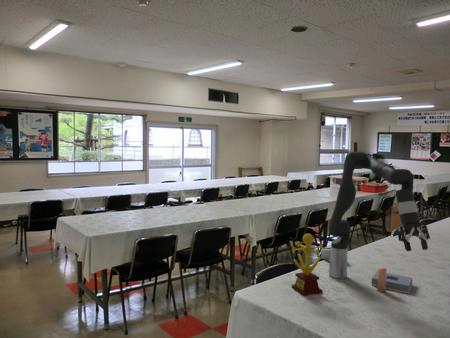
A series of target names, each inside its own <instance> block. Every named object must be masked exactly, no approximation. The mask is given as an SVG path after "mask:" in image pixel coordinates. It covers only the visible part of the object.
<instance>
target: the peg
mask: <svg viewBox="0 0 450 338" xmlns="http://www.w3.org/2000/svg"><path fill="white" fill-rule="evenodd" d="M387 270H388V269H387V268H386V267H381V266H380V267H378V268H377V271H378V287H377V286H376V287H377V292H378V293H386V291H387V289H386V273H387Z"/></svg>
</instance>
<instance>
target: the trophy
mask: <svg viewBox="0 0 450 338" xmlns="http://www.w3.org/2000/svg"><path fill="white" fill-rule="evenodd" d="M314 239H315V238H314V236H313V235H312V234H311V233H305V234H304V235H303V236H302V242H303V244H304V245H303V244H301V242H300V241H297V243H296V244H297V245H296V246H297V248H296V247H295V246H292V247H291V250H292V253H294V254H295V253H296V251H302V252H303V253H304V255H305V263H304V260H303V258H302V255H301V253H299V254H297V257H298V258H299V261H300V263H298V261H297V259H293V262H294V263H295V264H296V265H297V266H298V268H299V269H300V270H301V271H302V272H297V273H294V274H295V275H294V276H295V277H296V280H295V284H292V285H291V288H292V289H293V290H294V291H295V292H297V293H298V294H300V295H301V296H303V297H307V296H313V295H320V294H323V289H322V288H320V287H319V283H318V280H320V276H318V275H316V274H315V273H314V272H313V270H315V269H316V267H317V265H318V264H319V262H320V260H321V259H322V256H320V251H322V250H323V248H324V244H319V246H311V245H312V244H313V243H314V241H315V240H314ZM311 253H315V256H317V259H316V260H315V262H314V263H313V264H312V265H311V266H310V255H311ZM318 256H319V257H318ZM300 264H301V265H300Z"/></svg>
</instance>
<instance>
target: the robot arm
mask: <svg viewBox="0 0 450 338" xmlns="http://www.w3.org/2000/svg"><path fill="white" fill-rule="evenodd" d="M343 162H344V163H343V169H342V175H341V180H340V184H339V189H338V192H337V196H336V201H335V206H334V209H333V211H332V214H331V217H330V220H329V224H328V233H329V235H330V236H333V237H337V238H336V239H334V240H332V241H331V242H330V247H331V259H330V260H329V268H328V273H329V274H328V275H329V277H331V278H334V279H338V280H339V279H340V280H344V279H347V276H348V254H349V253H348V251H349V243H350V236H351V235H350V234H351V226H350V223H349V221H348V220H346V219H342V218H343V216H344V215H345V214H346V212H347V211H348V210H350V208H351V207H352V206H354V205H353V204H354V202H355V199H356V197H357V188H356V185H355V183H354V180H353V176H354V171H355V170H362V169H365V170H370V171H371V172H372V173H373V175H375V176H377V177H378V178H381V179H384V180H385V181H386V182H387V183H389V184H391V185H395V186H398V185H399V186H400V185H401V187H400V188H401V189H397V190H396V192H395V199H396V203H397V211H398V214H399V219H400V220H399V221H400V223H401V224H400V226H397V227H396V231H397V237H398V241H399V242H403V244H404V249H405V251H406V252H411V251H412V246H411V242H410V238H412V237H416V238H417V239H419V241H420V245H421V249H422V250H423V251H425V250H426V251H427V250H429V246H428V240H430V239H431V237H430V233H429V230H428V226H427V225H426V224H424V225H420V223H421V219H420V215H419V210H418V207H417V204H416V199H415V195H414V193H413V192H414V175H413V173H412V171H411V170H409V169H406V168H395V167H394V166H393V165H391V164H388V163H385V162H382V161H380V160H377V159H376V158H374V157H372V156H370V155H369V154H368V153H366V152H364V151H350V152H348V153H346V155H345V159H344V161H343ZM401 225H402V226H401Z"/></svg>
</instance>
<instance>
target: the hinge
mask: <svg viewBox="0 0 450 338" xmlns="http://www.w3.org/2000/svg"><path fill="white" fill-rule="evenodd" d="M321 259H322V260H328V261H330V259H331V246H327V247H326V246H325V247H323V250H321Z"/></svg>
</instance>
